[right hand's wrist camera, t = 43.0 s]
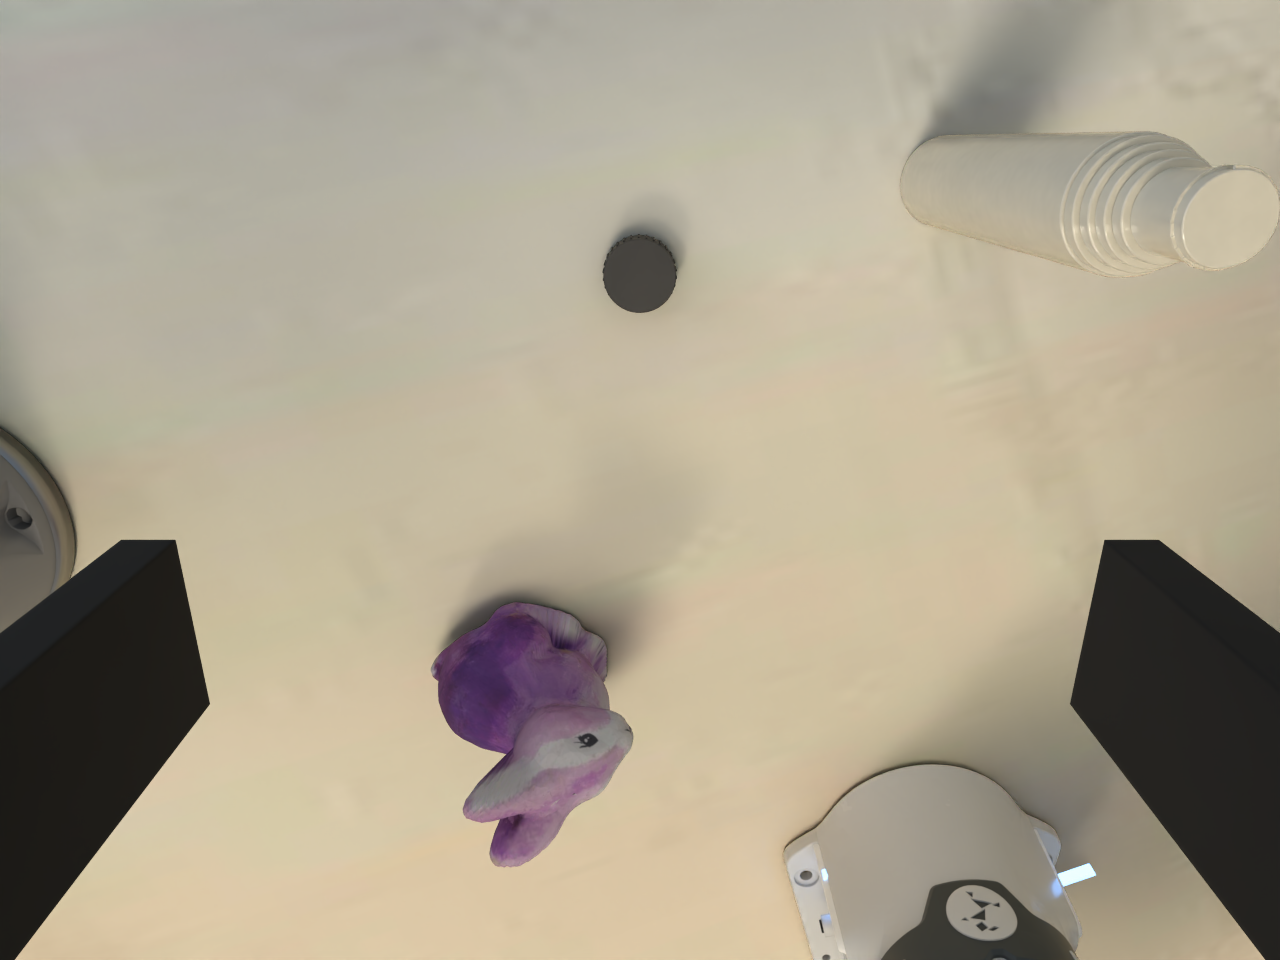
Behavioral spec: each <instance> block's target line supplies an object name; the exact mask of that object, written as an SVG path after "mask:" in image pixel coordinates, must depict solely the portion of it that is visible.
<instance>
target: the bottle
mask: <svg viewBox="0 0 1280 960" xmlns="http://www.w3.org/2000/svg"><path fill="white" fill-rule="evenodd" d="M900 192H901V197H902V200H903V203H904V205H905V207H906V209H907V210H908V212H909V213H910V214H911V215H912V216H913V217H914V218H915V219H916V220H918V221H920V222H921V223H924V224H926V225H929V226H933V227H936V228H940V229H943V230H946V231H950V232H953V233H957V234H960V235H964V236H967V237H970V238H974V239H977V240H981V241H984V242H988V243H991V244H994V245H998V246H1001V247H1005V248H1008V249H1011V250H1015V251H1018V252H1022V253H1025V254H1029V255H1032V256H1035V257H1039V258H1042V259H1046V260H1049V261H1052V262H1056V263H1059V264H1063V265H1066V266H1070V267H1073V268H1076V269H1080V270H1083V271H1087V272H1090V273H1093V274H1097V275H1101V276H1105V277H1135V276H1141V275H1145V274H1149V273H1152V272H1154V271H1156V270H1159V269H1162V268H1164V267H1168V266H1171V265H1173V264H1175V263H1178V262H1185V263H1186V264H1188V265H1189V266H1192V267H1193V268H1198V269H1201V270H1208V271H1219V270H1223V269H1227V268H1232V267H1234V266H1237V265H1239V264H1242V263H1244V262H1246V261H1248V260H1249V259H1251V258H1252V257H1254V256H1255V255H1256V254H1257V253H1259V252H1260V251H1261V250H1262V249H1263V248H1264V247H1265V245H1266V244H1267V243H1268V241H1269V240H1270V239H1271V237H1272V235H1273V233H1274V231H1275V229H1276V227H1277V224H1278V221H1279V216H1280V198H1279V195H1278V191H1277V187H1276V185H1275V184H1274V182H1273V181H1272V179H1271V177H1270V176H1268V175H1267V174H1266V173H1264V172H1263V171H1262V170H1260V169H1257V168H1255V167H1252V166H1244V165H1222V166H1217V167H1212V166H1211V165H1209V163H1208V162H1207V161H1205V160H1204V159H1203V158H1202V157H1201V156H1200V155H1199V154H1197V153H1196V151H1195V150H1193V149H1192V148H1191V147H1190V146H1189V145H1187V144H1186V143H1184V142H1183V141H1181V140H1179V139H1176V138H1174V137H1170V136H1167V135H1165V134H1161V133H1157V132H1150V131H1129V132H1077V133H1025V134H972V135H943V136H938V137H935V138H932V139H930V140H928V141H926V142H925V143H923V144H922V145H920V146H919V147H918V148H917V149H916V150H915V151H914V152H913V153H912V155H911V156H910V157H909V159H908V160H907V162H906V164H905V166H904V169H903V172H902V175H901V182H900Z"/></svg>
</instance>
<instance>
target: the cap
mask: <svg viewBox="0 0 1280 960" xmlns="http://www.w3.org/2000/svg"><path fill="white" fill-rule="evenodd" d="M674 264H675V261H674V259H673V258H672V254H671V252H669V251H668V249H667V246H664V245H663V244H662V243H661V241H658V240H656V239H655V237H653V238H652V237H649V236H647V235H646V236H644V235H640V234H638V235H635V236H632V235H631V236H630V237H628V238H623V240H621V241H620V242H617V244H616V245H615V246H614V247H612V248H611V251H610V253H608V254H607V260H605V263H604V265H605V267H604V269H603V273H604V275H603V281H604V284H605V288H606V291H607V293H608V295H609V296H610V298H611V299H612V300H613V302H615V303H616V304H617V305H618V306H620V307H621V308H623V309H625V310H627V311H630V312H635V313H644V312H649V311H652V310H655V309H657V308H659V307H660V306H661V305H663V304H664V303H665V302H666V301H667V300H668V298H669V297H670V295H671V294H672V293H673V290H674V287H675V282H676V279H677V276H676V271H677V269H676V266H675V265H674Z"/></svg>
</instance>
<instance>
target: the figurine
mask: <svg viewBox="0 0 1280 960" xmlns="http://www.w3.org/2000/svg"><path fill="white" fill-rule="evenodd" d="M606 656H607V648H606V645H605V642H604V641H603V640H602V639H601V638H600V637H599V636H598V635H595V634H593V633H591V632H588V631H585V630H584V629H583V628H582V627H581V624H580V622H579V621H578V620H577V619H576V618H574V617H573V616H572V615H571V614H566V613H565V612H563V611H559V610H554V609H552V608H547V607H544V606H540V605H533V604H528V603H527V604H524V603H521V602H514V603H510V604H507V605H503V606H501V607H500V608H498V609H497V610H496V611H495V612H494V614H493V615H492V616H491V618H490V619H489V620H488V621H487V622H486V623H485V624H484V625H482V626H481V627H479V628H476V629H474V630H472V631H470V632H468V633H466V634H464V635H462V636H461V637H460V638H458V639H457V640H456V641H455V642H453V643H452V644H451V645H450V646H448V647H447V648H446V649H445V650H443V651H442V652H441V653H440V654H439V656H438V657H437V658H436V659H435V661H434V663H433V665H432V667H431V673H432V675H433V677H434V678H435V679H436V680H438V681H439V682H438V697H439V704H440V707H441V710H442V713H443V715H444V717H445V719H446V721H447V723H448V725H449V726H450V728H451V729H452V730H453V731H454V733H455V734H457V735H458V736H460V737H461V738H463V739H464V740H466V741H469V742H471V743H473V744H474V745H476V746H478V747H480V748H483V749H487V750H491V751H496V752H500V753H504V754H506V755H505V756H504V757H503V758H502V759H501V760H500V761H499V762H498V763H497V764H496V765H495V766H494V767H493V768H492V769H491V770H490V772H489V773H488V774H487V775H486V776H485V777H484V778H483V779H482V780H481V781H480V782H479V783H478V784H477V785H476V787H475V788H474V789H473V791H472V792H471V794H470V795H469V797H468V798H467V799H466V801H465V804H464V807H463V813H464V815H465V817H466V818H467V819H470V820H473V821H477V822H481V823H483V822H490V821H495V820H499V819H500V821H499V823H498V826H497V828H496V831H495V833H494V837H493V840H492V843H491V847H490V858H491V861H492V862H493V864H494V865H495V866H498V867H499V866H501V867H506V866H508V867H513V866H520V865H522V864H524V863H525V862H528V861H530V860H531V859H532V858H534V857H535V856H537V855H538V854H539V853H540V852H541V851H542V850H544V849H545V848H546V847H547V846H548V845H549V844H550V843H551V841H552V840H553V839H554V838H555V837H556V835H557V834H558V832H559V830H560V828H561V826H562V824H563V822H564V820H565V818H566V817H567V815H568V814H569V813H570V812H571V811H572V810H573V809H574V808H575V807H577V806H578V805H580V804H581V803H583V802H585V801H587V800H589V799H592V798H594V797H596V796H597V795H599V794H600V793H601V792H602V791H603V790H604V789H605V787H606V786H607V784H608V783H609V781H610V779H611V778H612V775H613V774H614V772H615V770H616V769H617V767H618V765H619V764H620V762H621V761H622V760H623V758H624V757H625V756H626V754H627V753H628V752H629V750H630V748H631V746H632V742H633V732H632V729H631V728H630V726H629V725H628V724H627V722H626V721H625V719H624V718H623V717H622V716H621V715H619V714H618V713H616V712H613V711H610V706H609V696H608V693H607V689H606V687H605V685H604V683H603V682H604V681H605V677H606V676H607V668H606V666H607V665H606V663H607V661H606V660H607V657H606Z"/></svg>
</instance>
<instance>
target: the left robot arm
mask: <svg viewBox="0 0 1280 960" xmlns="http://www.w3.org/2000/svg"><path fill="white" fill-rule="evenodd" d="M1060 851H1061V842H1060V840H1059V838H1058V835H1057V833H1056V831H1055V830H1054V829H1053V828H1052V827H1051V826H1050V825H1048V824H1046V823H1044V822H1043V821H1041V820H1039V819H1036V818H1034V817H1032V816H1030V815H1027V814H1026V813H1025V812H1023V811H1022V810H1021V809H1020V808H1019V806H1018V805H1017V804H1016V803H1015V801H1014V800H1013V799H1012V798H1011V796H1010V795H1009V794H1008V793H1007V792H1006V791H1005V790H1004V789H1003V788H1002V787H1001V786H999V785H998V784H997V783H995V782H994V781H992V780H991V779H989V778H987V777H985V776H983V775H981V774H979V773H977V772H974V771H971V770H968V769H965V768H961V767H956V766H949V765H939V764H927V765H915V766H908V767H903V768H899V769H895V770H892V771H889V772H886V773H883V774H880V775H878V776H876V777H874V778H871V779H869V780H867V781H866V782H864V783H862V784H860V785H859V786H857V787H856V788H854V789H853V790H852V791H850V792H849V793H848V794H847V795H845V796H844V797H843V798H842V799H841V800H840V801H839V802H838V803H837V804H836V805H835V806H834V807H833V809H832V810H831V811H830V813H829V814H828V815H827V816H826V818H825V819H824V820H823V821H822V822H821V823H820V824H819V825H818V826H817V827H816V828H815V829H813V830H811V831H810V832H808V833H806V834H804V835H803V836H801V837H799V838H798V839H796V840H795V841H793V842H792V843H791V844H789V845H788V846H787V847H786V849H785V850H784V853H783V860H784V863H785V867H786V870H787V873H788V877H789V880H790V884H791V887H792V890H793V894H794V897H795V901H796V904H797V907H798V911H799V914H800V918H801V921H802V924H803V928H804V931H805V935H806V938H807V941H808V945H809V948H810V952H811V955H812V958H813V960H1080V959H1079V958H1078V957H1077V956H1076V954H1075V951H1076V949H1077V946H1078V939H1079V938H1080V937H1081V936H1082V928H1081V924H1080V921H1079V919H1078V917H1077V915H1076V912H1075V910H1074V908H1073V906H1072V904H1071V902H1070V899H1069V897H1068V895H1067V893H1066V891H1065V889H1064V887H1063V886H1066V885H1069V884H1072V883H1074V882H1077V881H1080V880H1083V879H1086V878H1089V877H1092V876H1095V872H1094V870H1093V869H1092V867H1091V866H1090V864H1086V865H1083V866H1080V867H1077V868H1074V869H1071V870H1068V871H1065V872H1063V873H1060V874H1057V872H1056V870H1055V865H1056V862H1057V859H1058V856H1059V854H1060ZM803 871H807V872H803Z"/></svg>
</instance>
